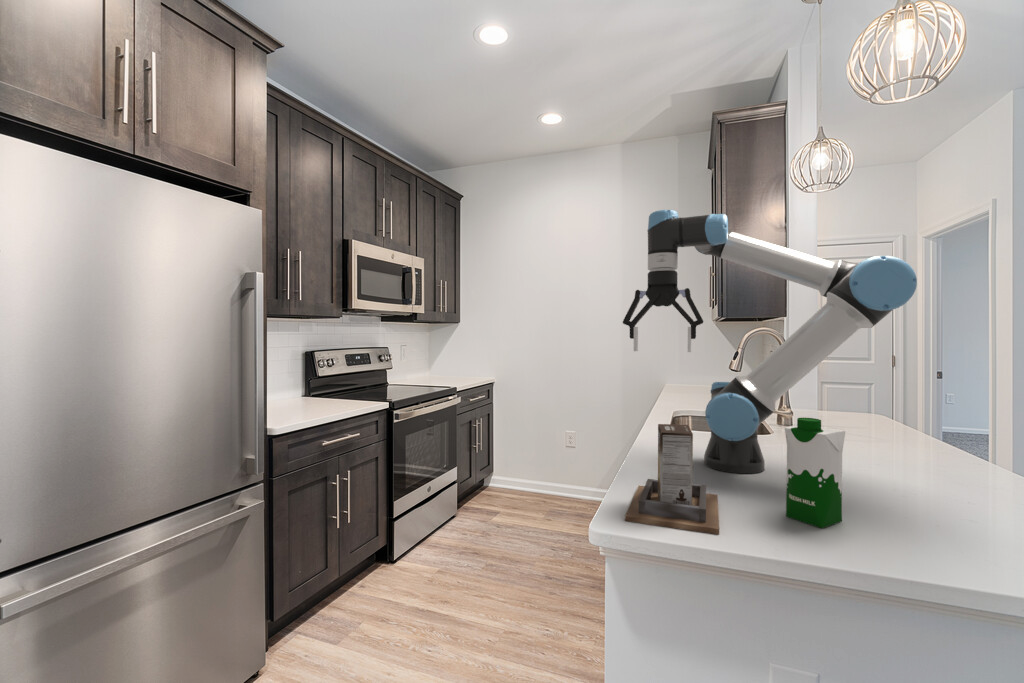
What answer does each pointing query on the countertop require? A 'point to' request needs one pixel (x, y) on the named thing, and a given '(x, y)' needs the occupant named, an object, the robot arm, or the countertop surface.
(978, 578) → the countertop surface
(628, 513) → the pocket board
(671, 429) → the coffee box
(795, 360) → the robot arm
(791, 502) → the milk carton
